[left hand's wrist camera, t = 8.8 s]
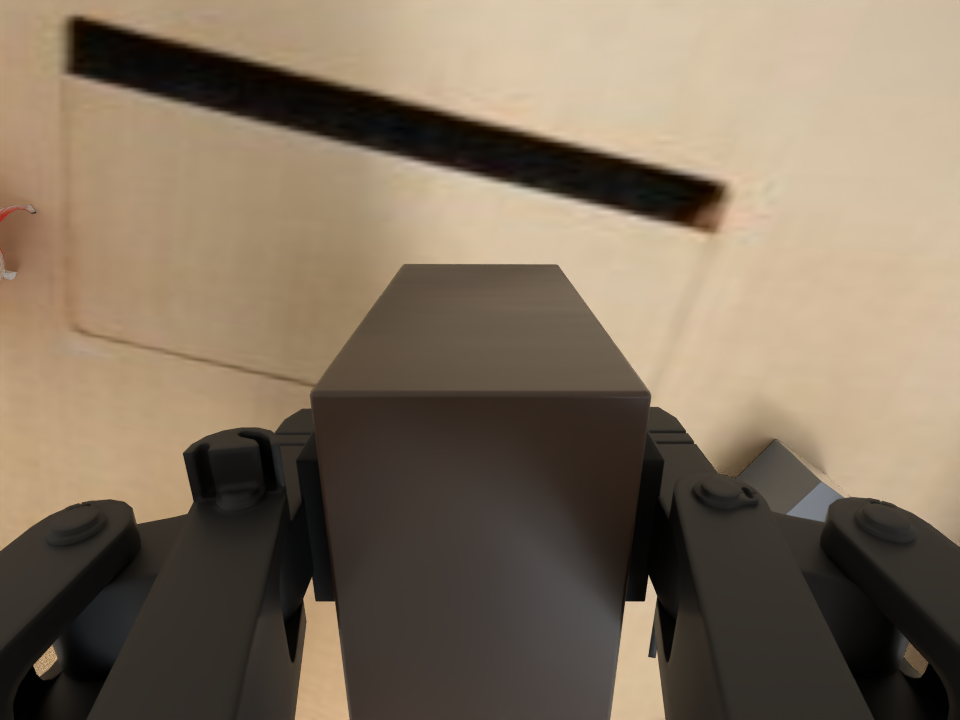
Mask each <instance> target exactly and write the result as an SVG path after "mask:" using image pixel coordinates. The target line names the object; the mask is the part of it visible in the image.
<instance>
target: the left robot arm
mask: <svg viewBox="0 0 960 720" xmlns="http://www.w3.org/2000/svg"><path fill="white" fill-rule="evenodd" d="M183 456H184V460H185V465H186V469H187V474H188V478H189V483H190V487H191V491H192V496H193V500H194V502H193V504H192V506H191V508H190V510H189V512H188V514H185V515H181V516H177V517H172V518H167V519H162V520H157V521H152V522H146V523H141V524H137V523H136V520H135V516H134V512H133V509H132V507H130V506H129V505H128V504H127V503H125V502H122V501H117V500H111V499H110V500H98V501H87V502H82V504H79V503H78V504H75V505H72V506H69V507H67V508H65V509H64V510H61V511H59V512H57V513H54V514H52V515H49V516H48V517H46V518H45V519H43V520H42V521H40V522H38V523H37V524H35V525H34V526H32V527H31V528H29V529H28V530H27V531H26V532H24V533H23V534H22V535H20V536H19V537H18V538H17V539H15V540H14V541H13V542H12V543H10V544H9V545H8V546H6V547H5V548H4V549H3V550H1V551H0V720H295V712H296V704H297V695H298V687H299V679H300V671H301V662H302V654H303V646H304V638H305V629H306V615H305V609H304V602H303V598H304V595H305V593H306V590H307V588H308V585H309V583H310V580H311V578H312V579H313V586H314V593H315V600H316V601H335V596H334V587H333V579H332V571H331V563H330V555H329V547H328V539H327V530H326V522H325V514H324V506H323V498H322V490H321V481H320V473H319V465H318V457H317V449H316V441H315V433H314V424H313V416H312V409H301V410H300V411H298V412H296V413H295V414H293V415H291V416H290V417H288V418H287V419H285V420H284V421H283V423H282V424H281V425H280V427H279V428H278V429H277V431H276V432H275V433H273V432H272V431H271V430H266V429H262V428H236V429H230V430H224V431H221V432H218V433H215V434H212V435H209V436H206V437H204V438H202V439H201V440H199V441H197V442H195V443H193V444H192V445H191V446H190V447H189V448H188V449H187V450H186V451H185V452H184V453H183ZM648 575H649V577H650V579H651V581H652V584H653V586H654V589H655V591H656V594H657V602H656V609H655V615H654V622H653V628H652V635H651V642H650V648H649V655H648V657H652V658H656V652H657V653H658V661H659V669H660V678H661V686H662V694H663V702H664V710H665V719H666V720H960V547H959V546H957V545H956V544H955V543H953V542H952V541H951V540H950V539H948V538H947V537H946V536H944V535H943V534H942V533H941V532H939V531H938V530H937V529H935V528H934V527H933V526H932V525H930V524H929V523H927V522H926V521H924V520H922V519H921V518H919V517H918V516H916V515H914V514H913V513H911V512H908V511H906V510H904V509H901V508H899V507H897V506H896V505H894V504H891V503H888V502H885V501H882V502H881V501H879V500H876V499H871V498H856V497H848V498H842V499H837V500H835V501H834V502H833V503H832V504H830V505H829V507H828V511H827V514H826V518H825V522H821V521H816V520H811V519H806V518H800V517H795V516H790V515H785V514H781V513H777V512H773V511H771V509H770V507H769V505H768V503H767V501H766V500H765V499H764V498H763V496H762V495H761V494H760V493H759V491H757V490H756V489H754V488H753V487H751V486H750V485H748V484H747V483H745V482H743V481H741V480H738V479H735V478H733V477H730V476H728V475H723V474H718V473H717V471H716V470H715V469H714V467H713V466H712V465H711V463H710V462H709V461H708V459H707V458H706V457H705V456H704V454H703V453H702V452H701V450H700V449H699V448H698V446H697V445H696V444H694V441H693V440H692V438H691V437H690V436H689V434H688V433H686V430H685V429H684V428H683V426H682V425H681V424H680V422H679V421H678V420H677V418H675V417H674V416H672V415H670V414H669V413H667V412H666V411H664V410H662V409H661V408H659V407H650V409H649V417H648V425H647V433H646V441H645V449H644V457H643V464H642V472H641V480H640V488H639V496H638V504H637V512H636V520H635V527H634V535H633V543H632V551H631V559H630V567H629V575H628V583H627V590H626V598H625V601H645V596H646V589H647V582H648ZM909 642H910V643H911V644H912V645H913V646H914V647H915V648H916V649H917V650H918V652H919V653H920V654H921V655H922V656H923V657H924V658H925V659H926V660H927V661H928V662H929V663H928V666H927V668H926V671H925V673H924V674H923V675H921V674H920V673H918V672H917V671H916V670H915V669H914V668H913V667H912V666H911V665H910V664H909V663H908V662H907V661H906V659H905V658H904V654H905V652H906V649H907V646H908V644H909ZM51 645H53V647H54V650H55V653H56V655H57V658H58V660H57V661H56V662H55V663H54V664H53V665H52V666H51V668H50V669H49V670H48V671H46V672H45V673H44V674H43V675H41V676H40V677H39V676H38V675H37V674H36V672H35V669H34V667H33V665H34V664H35V663H36V662H37V660H38V659H39V658H40V657H41V656H42V655H43V654H44V653H45V652H46V651H47V650H48V649H49V647H50V646H51Z"/></svg>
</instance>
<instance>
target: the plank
mask: <svg viewBox="0 0 960 720" xmlns="http://www.w3.org/2000/svg"><path fill="white" fill-rule="evenodd" d="M310 400H311V408H312V416H313V424H314V433H315V441H316V449H317V457H318V465H319V473H320V481H321V490H322V498H323V506H324V514H325V522H326V530H327V539H328V547H329V555H330V563H331V571H332V579H333V587H334V596H335V604H336V612H337V620H338V628H339V636H340V644H341V653H342V661H343V669H344V677H345V685H346V693H347V701H348V710H349V718H350V720H610V716H611V709H612V701H613V693H614V685H615V677H616V669H617V661H618V653H619V646H620V638H621V630H622V622H623V614H624V606H625V598H626V590H627V583H628V575H629V567H630V559H631V551H632V543H633V535H634V527H635V520H636V512H637V504H638V496H639V488H640V480H641V472H642V464H643V457H644V449H645V441H646V433H647V425H648V417H649V409H650V401H651V394H650V391H649V390H648V389H647V387H646V386H645V385H644V383H643V382H642V380H641V379H640V378H639V376H638V375H637V373H636V372H635V371H634V369H633V368H632V367H631V365H630V364H629V362H628V361H627V360H626V358H625V357H624V356H623V354H622V353H621V351H620V350H619V349H618V347H617V346H616V345H615V343H614V342H613V340H612V339H611V338H610V336H609V335H608V333H607V332H606V331H605V329H604V328H603V327H602V325H601V324H600V322H599V321H598V320H597V318H596V317H595V316H594V314H593V313H592V311H591V310H590V309H589V307H588V306H587V305H586V303H585V302H584V300H583V299H582V298H581V296H580V295H579V294H578V292H577V291H576V289H575V288H574V287H573V285H572V284H571V282H570V281H569V280H568V278H567V277H566V276H565V274H564V273H563V271H562V270H561V269H560V267H559V266H558V265H529V264H404V265H403V266H402V267H401V268H400V270H399V271H398V273H397V274H396V275H395V277H394V278H393V279H392V281H391V282H390V284H389V285H388V286H387V288H386V289H385V290H384V292H383V293H382V295H381V296H380V297H379V299H378V300H377V301H376V303H375V304H374V306H373V307H372V308H371V310H370V311H369V312H368V314H367V315H366V317H365V318H364V319H363V321H362V322H361V324H360V325H359V326H358V328H357V329H356V330H355V332H354V333H353V335H352V336H351V337H350V339H349V340H348V341H347V343H346V344H345V346H344V347H343V348H342V350H341V351H340V352H339V354H338V355H337V357H336V358H335V359H334V361H333V362H332V363H331V365H330V366H329V368H328V369H327V370H326V372H325V373H324V375H323V376H322V377H321V379H320V380H319V381H318V383H317V384H316V386H315V387H314V388H313V390H312V391H311V394H310Z"/></svg>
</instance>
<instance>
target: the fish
mask: <svg viewBox="0 0 960 720" xmlns="http://www.w3.org/2000/svg"><path fill="white" fill-rule="evenodd" d="M17 209H25V210H27V211H28V212H30V213H31V214H33V213H36V211H35V209H34V208H33V207H32V205H16V206H9V207H5V208H2V209H0V223H1V222H2V221H3V220H5V219H6V218H7V217H8V216H9V215H10V214H11V213H12V212H14V211H16V210H17ZM16 274H17V272H13V271H8V270H4V257H3V253H2V251H1V249H0V281H1V279H2V277H3V278H5V279H9V280H13V279H14V277H15V276H16Z"/></svg>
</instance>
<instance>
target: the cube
mask: <svg viewBox="0 0 960 720" xmlns="http://www.w3.org/2000/svg"><path fill="white" fill-rule="evenodd" d="M736 479H738V480H741V481H743V482H745V483H747V484H748V485H750V486H751V487H753V488H754V489H756V490H757V491H759V493H760V494H761V495H762V496H763V498H764V499H765V500H766V501H767V503H768V505H769V507H770V509H771V511H773V512H777V513H781V514H785V515H790V516H795V517H800V518H806V519H811V520H816V521H821V522H825V518H826V514H827V511H828V507H829V505H830V504H832V503H833V502H834V501H835V500H837V499H842V498H848V497H851V496H850V495H848V494H847V493H846V492H845V491H844V490H843V489H842V488H841V487H840V486H838V485H837V484H836V483H835V482H834V481H833V480H832V479H831V478H830V477H829V476H827V475H826V474H825V473H823V472H822V471H820V470H819V469H818V468H816V467H815V466H813V465H812V464H811V463H809V462H808V461H806V460H805V459H804V458H802V457H801V456H799V455H798V454H797V453H795V452H794V451H792V450H791V449H790V448H788V447H787V446H785V445H784V444H783V443H781V442H780V441H779V440H777V439H775V440H774V441H773V442H772V443H771V444H770V445H769V446H768V447H767V448H766V449H765V450H764V451H763V452H762V453H761V454H760V455H759V456H758V457H757V458H756V459H755V460H754V461H753V462H752V463H751V464H750V465H749V466H748V467H747V468H746V469H745V470H744V471H743V472H742V473H741V474H740V475H739V476H738V477H737V478H736Z"/></svg>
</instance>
